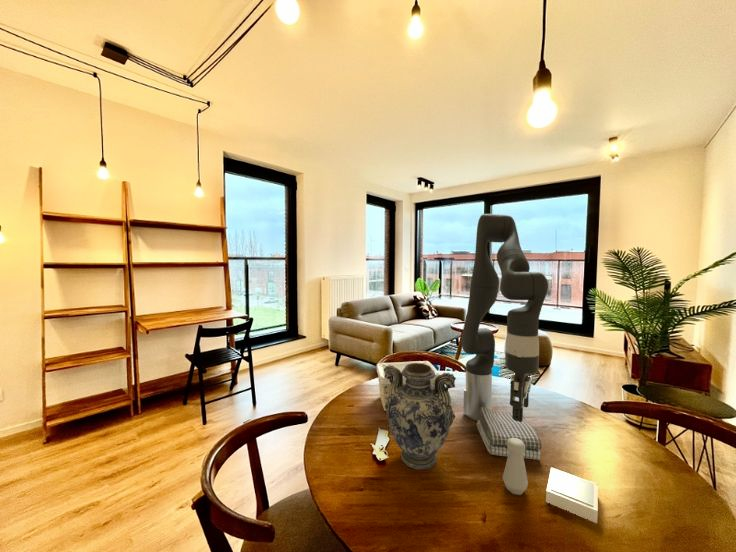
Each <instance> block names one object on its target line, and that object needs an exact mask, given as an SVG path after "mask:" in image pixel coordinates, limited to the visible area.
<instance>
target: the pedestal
mask: <svg viewBox="0 0 736 552" xmlns="http://www.w3.org/2000/svg"><path fill="white" fill-rule="evenodd" d="M598 487H599V486H598V483H596V482H594V481H590V480H588V479H585V478H581V477H579V476H576V475H574V474H570V473H568V472H565V471H562V470H560V469H558V468H554V467H550V472H549V477H548V482H547V486H546V490H545V492H546V493H545V494H546V495H545V502H546V503H547V504H549V503H550V505H552V506H554V507H556V506H557V507H556V508H560V509H562V510H564V511H566V510H567V512H568V511H569V512H568V513H571V514H573V515H575V514H576V516H578V517H580V518H582V519H585V520H587V519H588V520H587V521H590V522H592V523H594V524H598V515H599V514H598V511H599V510H598V509H599V504H598V501H599V500H598V499H599V497H598V495H599V494H598V492H599V489H598Z"/></svg>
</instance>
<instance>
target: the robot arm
mask: <svg viewBox="0 0 736 552" xmlns="http://www.w3.org/2000/svg"><path fill="white" fill-rule="evenodd" d="M475 241H476V242H475V250H474V251H475V253H474V262H473V268H472V275H471V281H470V288H469V297H468V305H467V311H466V316H465V320H464V325H463V328H462V334H461V347H462V350H463V352H464V353H466V354H467V355H475V356H473V357H472V358H471V359H469V360H467V361H466V363H465V388H464V390H463V415H464V416H466V417H468V418H469V419H471V420H474V421H478V420H480V416H479V414H480V408H481V407H484V408H487V409H490V410H491V411H492V393H493V392H492V391H493V389H492V386H493V385H492V381H493V379H492V378H493V377H492V376H493V368H494V363H495V351H496V341H495V340H496V339H495V334H494V333H493V331H492V330H491V329H489V328H483V327H482V328H481V327H480V325H481V322H482V320H483V318H484V317H485V316H486V315H487V313H488V312H489V311H490V309H491V308H492V307H493V306H494V304H495V303H496V300H497V297H498V292H499V288H500V293H501V295H502V296H503V297H504V298H505V299H507V300H509V301H510V300H511V301H527V302H526V303H525V305H524V306H522V307H518V308H513V309H510V310H509V311H507V314H506V322H507V323H506V337H505V357H504V358H505V363H504V364H505V367H506V369H507V370H509V371H511V372H513V375H512V376H511V380H510V382H509V384H510V392H509V394H510V398H509V406H511V407H512V411H511V413H512V418H513V420H515V421H519V422H522V420H523V417H524V408H528V407H529V403H530V402H529V399H530V396H529V395H530V393H531V387H532V383H531V382H532V374H533V375H535V374H536V373H538V372H539V370H540V369H539V367H540V366H539V365H540V363H539V362H540V340H539V322H540V321H539V320H540V315H541V312H542V308H543V304H544V302H545V299H546V297H547V294H548V290H549V282H548V279H547V277H546V276H545V274H543V272H539V271H530V267H531V266H530V263H529V262H528V260H527V257H526V255H525V254H524V252H523V250H522V247H521V243H520V239H519V234H518V230H517V226H516V222H515V220H514V218H513V217H512V216H511V215H508V214H496V213H493V214H492V213H483V214H481V215H480V216H479V219H478V223H477V227H476V239H475ZM488 243H502V245H501V246H499V249H498V250H497V253H496V261H497V264H498V266H499V269H500V272H501V278H499V277H500V276H499V275H498V273H497V271H496V269H495V267H494V265H493V263H492V262H491V260H490V257H489V254H488ZM479 327H480V328H479ZM516 398H518V400H516Z"/></svg>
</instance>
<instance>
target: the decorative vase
mask: <svg viewBox="0 0 736 552" xmlns="http://www.w3.org/2000/svg"><path fill="white" fill-rule="evenodd" d="M384 372H385V376H384V378H386V379H389V380H390V383H391V384H390V387H389V396H388V398H387V402H386V404H385V409H386V411H387V412H386V415H387V420H388V425H389V430H390V432H391V435H392V437H393V439H394V441H395V443H396V445H397V446H398V447H399V448H400V449H401V453H400V458H401V461H402V462H403V464H404V465H406V466H407V467H408V468H411V469H413V470H419V471H421V470H422V471H423V470H429V469H430V468H432V467H434V466H436V463H437V459H438V458H437V454H436V453H438V452H439V451H440V450H441V448H442V447H443V445H444V444H445V442H446V440H447V438H448V435H449V432H450V427H451V426H452V424H453V422H454V420H455V418H456V415H455V412H454V410H453V408H452V405H451V403H452V398H451V394H450V392H449V389H452V388H456V384H455V380H456V377H455V376H454V374H453V373H450V372H443V373H441V374H440V375H439V376H438V377H437V378H436V379H435V386H434V385H431V381H430V380H431V379H433V378H434V377H435V372H434V371H433V370H432V369H431V367H430V366H428V365H425V364H420V363H413V364H408V365H406V367H405V368H404V369H403V370H402V373H401V371H400V370H399V369H397V368H395V367H394V366H391V365H389V366H385V368H384ZM393 376H394V377H393ZM403 376H404V377H405V378H406V383H405V384H403ZM393 379H394V380H393Z"/></svg>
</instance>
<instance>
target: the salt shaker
mask: <svg viewBox="0 0 736 552" xmlns="http://www.w3.org/2000/svg"><path fill="white" fill-rule="evenodd" d="M507 448H508V450H509V453H508V457H507V459H506V463H505V468H504V471H503V474H502V481H503V482H504V485H505V488H506V490H508V492H510V493H511V494H513V495H517V496H521V495H523V493H524V492H525V491H526V490H527V489H528V485H529V481H528V475H527V471H526V465H525V464H526V463H525V458H524V457H523V453H524V452H525V444H524V442H523V441H521V440H520V439H518V438H510V439H508V440H507Z"/></svg>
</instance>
